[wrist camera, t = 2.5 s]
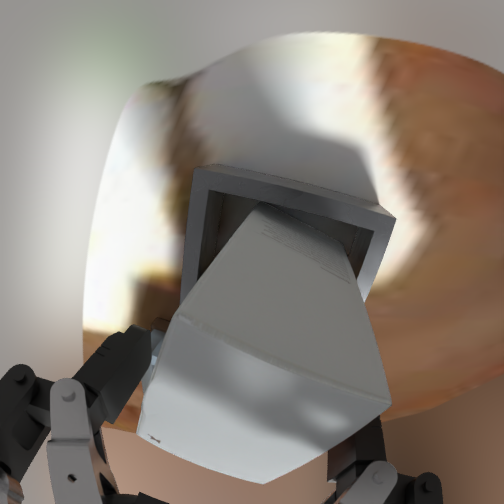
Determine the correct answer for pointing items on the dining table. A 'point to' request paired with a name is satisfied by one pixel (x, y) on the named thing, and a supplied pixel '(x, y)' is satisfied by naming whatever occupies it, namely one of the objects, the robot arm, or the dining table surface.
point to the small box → (266, 355)
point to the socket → (288, 195)
